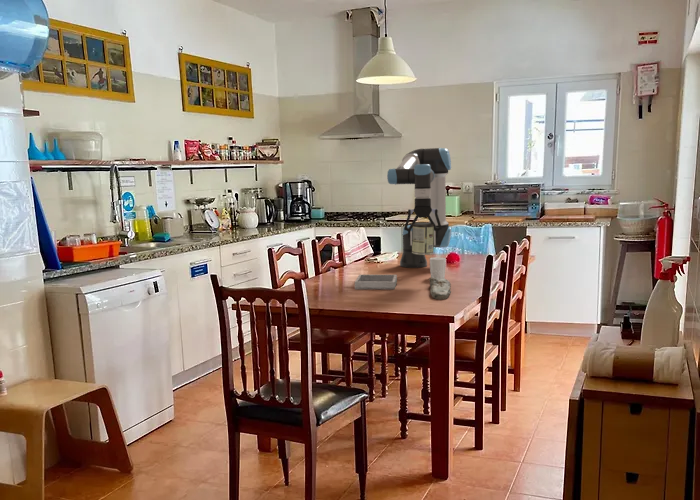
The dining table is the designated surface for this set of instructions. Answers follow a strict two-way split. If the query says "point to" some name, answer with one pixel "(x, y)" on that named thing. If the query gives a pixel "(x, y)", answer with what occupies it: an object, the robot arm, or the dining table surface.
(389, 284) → the square holder
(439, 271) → the white cup
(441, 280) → the elongated rock
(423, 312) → the dining table surface
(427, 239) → the coffee can
